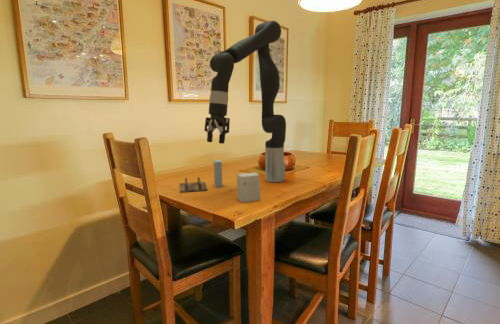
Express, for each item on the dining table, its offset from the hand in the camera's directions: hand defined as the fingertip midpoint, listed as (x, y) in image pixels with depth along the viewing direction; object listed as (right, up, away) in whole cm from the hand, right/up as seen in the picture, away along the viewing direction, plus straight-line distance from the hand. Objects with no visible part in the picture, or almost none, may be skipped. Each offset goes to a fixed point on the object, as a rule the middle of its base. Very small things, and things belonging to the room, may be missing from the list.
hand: (215, 142), depth 121 cm
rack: (-12, -20, +15) cm, 28 cm away
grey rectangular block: (-1, -19, +19) cm, 27 cm away
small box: (+14, -23, -4) cm, 28 cm away
